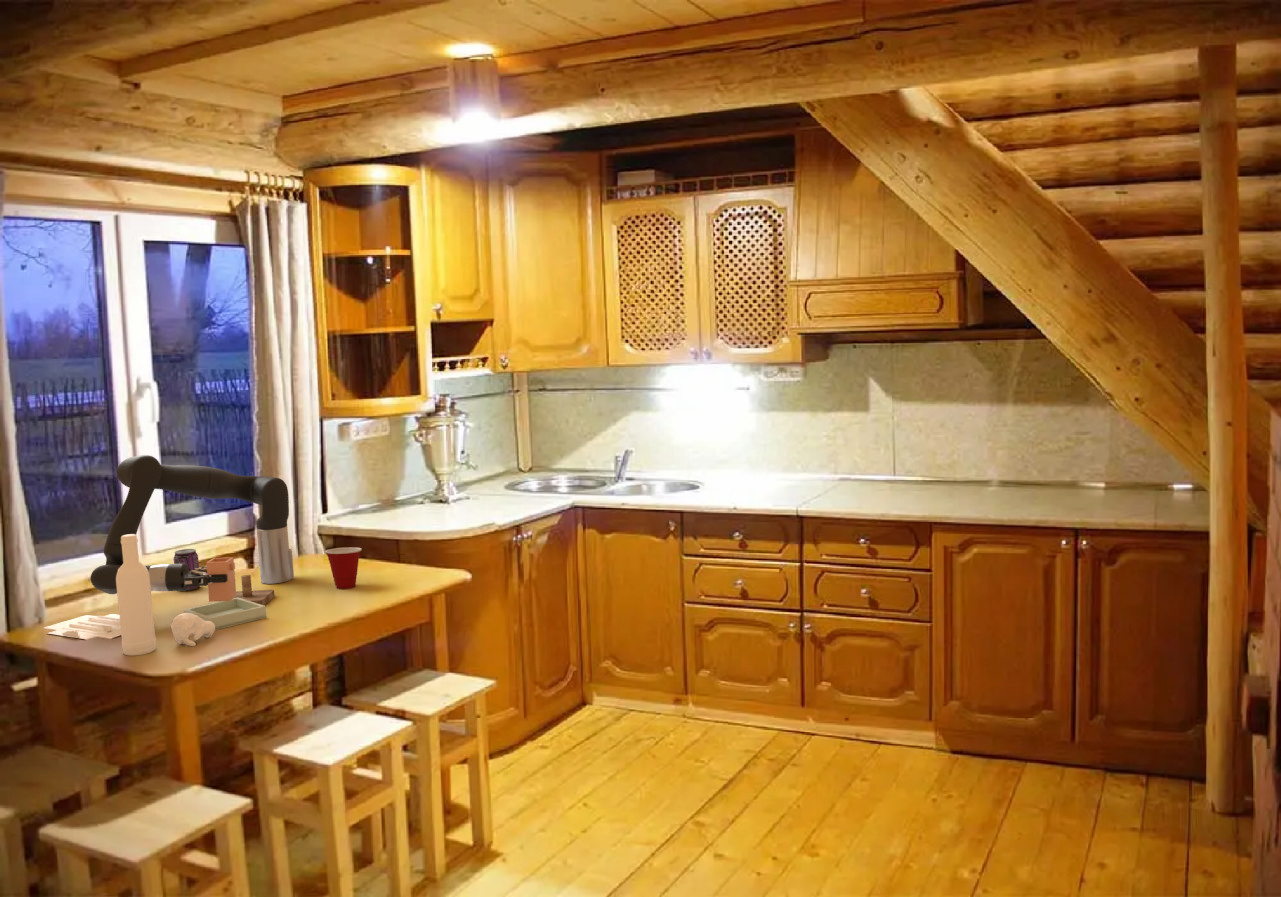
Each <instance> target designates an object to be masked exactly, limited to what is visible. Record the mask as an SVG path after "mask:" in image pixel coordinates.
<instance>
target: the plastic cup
mask: <svg viewBox="0 0 1281 897" xmlns="http://www.w3.org/2000/svg"><path fill="white" fill-rule="evenodd" d="M361 551H362V548H361V547H353V546H352V547H336V548H330V549H326V550H325V551H324V552H325V553H326V555H327V558H328V561H329V562H328V563H329V565H330V569H331V570H330V571H331V574H332V578H333V581H334V585H335V587H336V589H338V590H348V589H352V588H355V587H356V584H357V576H358V570H359V569H358V568H359V559H360V555H361Z"/></svg>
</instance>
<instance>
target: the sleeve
mask: <svg viewBox="0 0 1281 897" xmlns="http://www.w3.org/2000/svg"><path fill="white" fill-rule="evenodd" d="M234 558H235V557H212V558H211V559H210V560H208V561H206V566H205V567H207V574H212V576H213V574H226V575H227V582H224V583H212V584H208V585H207V590H208V603H210V602H211V603H215V602H219V601H230V600H232V599H233V598H234V597H236V591H237V586H236V573H235V572H236V571H234V570H236V563H235V560H234Z"/></svg>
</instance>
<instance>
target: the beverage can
mask: <svg viewBox="0 0 1281 897" xmlns="http://www.w3.org/2000/svg"><path fill="white" fill-rule="evenodd" d="M199 561H200V560H199V554H198V553H197V550H196V548H184V549H183V548H182V549H179V550H175V551H174V556H173V564H183V563H185V564H187V565H188V566H189V569H190V570H191V571H192V570H194V569H195V568H200V563H199ZM199 587H200V586H193V587H188V589H187V590H185V592H187V591H194V590H196V589H198V588H199Z"/></svg>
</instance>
